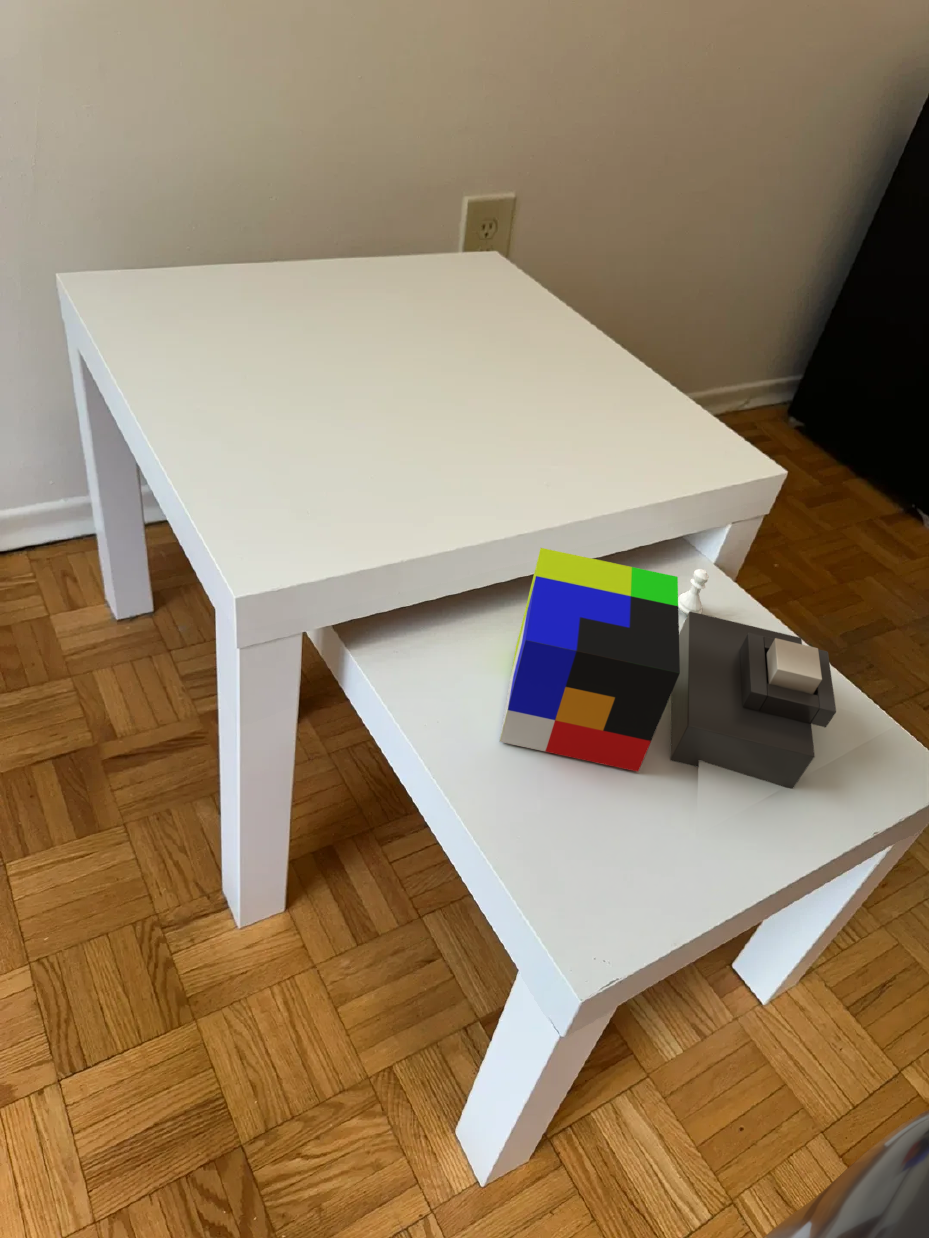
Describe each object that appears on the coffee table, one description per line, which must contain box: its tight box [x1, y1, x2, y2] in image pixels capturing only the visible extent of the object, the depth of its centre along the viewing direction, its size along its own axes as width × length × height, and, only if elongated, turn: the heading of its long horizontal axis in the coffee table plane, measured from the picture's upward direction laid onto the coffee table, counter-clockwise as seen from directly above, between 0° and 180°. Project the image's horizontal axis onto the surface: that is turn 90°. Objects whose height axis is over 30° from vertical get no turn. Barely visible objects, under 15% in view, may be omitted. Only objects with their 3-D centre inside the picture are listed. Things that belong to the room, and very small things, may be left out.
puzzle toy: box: [499, 547, 680, 773], centre depth 66 cm, size 10×10×10 cm
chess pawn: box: [678, 568, 710, 615], centre depth 79 cm, size 3×2×4 cm
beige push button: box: [766, 638, 822, 694], centre depth 67 cm, size 3×3×2 cm
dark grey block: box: [669, 611, 837, 790], centre depth 70 cm, size 12×10×6 cm
